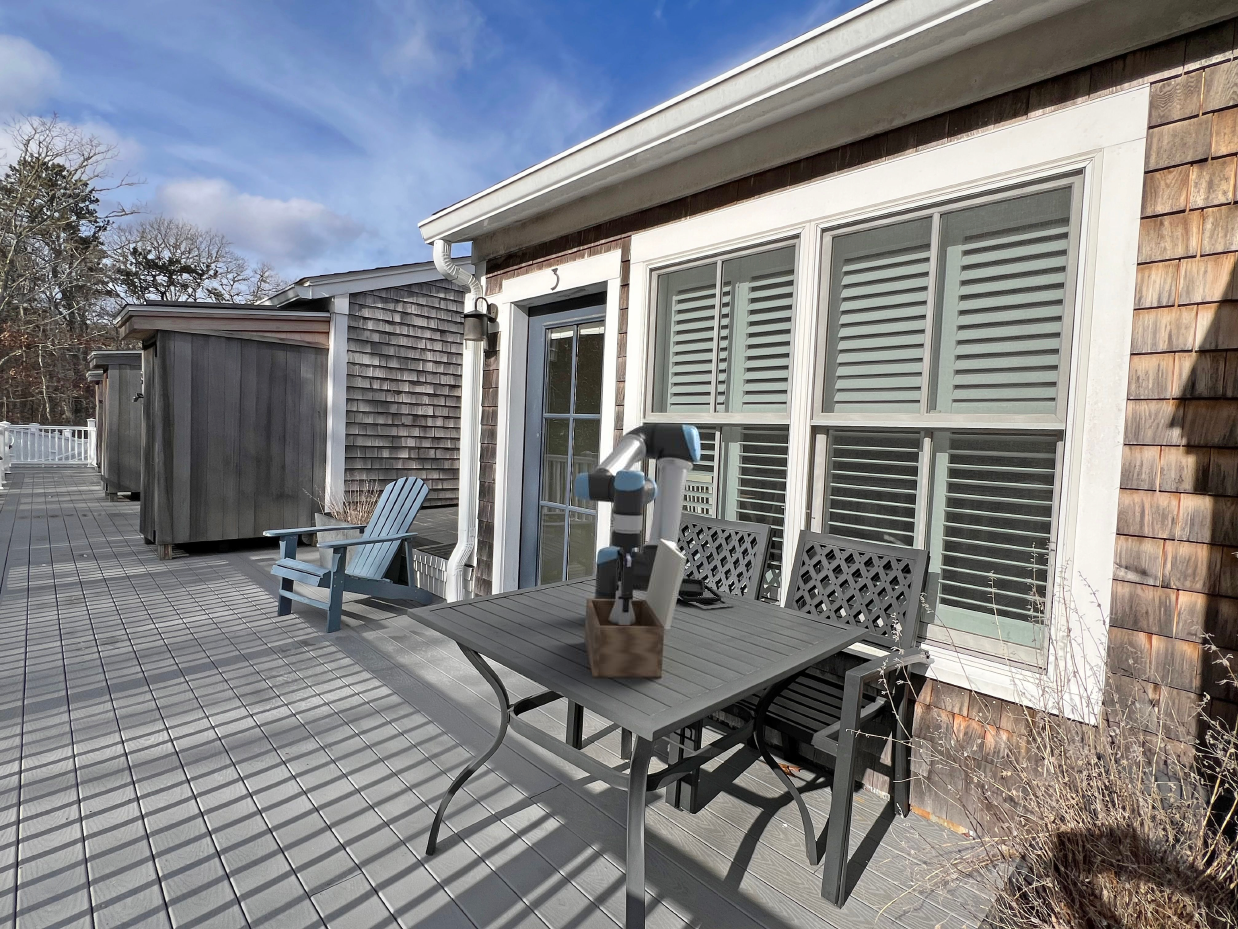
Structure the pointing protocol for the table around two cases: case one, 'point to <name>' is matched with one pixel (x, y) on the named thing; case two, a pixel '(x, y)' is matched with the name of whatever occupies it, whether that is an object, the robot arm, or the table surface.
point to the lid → (665, 582)
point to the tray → (696, 591)
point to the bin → (623, 641)
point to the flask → (615, 611)
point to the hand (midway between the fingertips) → (622, 620)
